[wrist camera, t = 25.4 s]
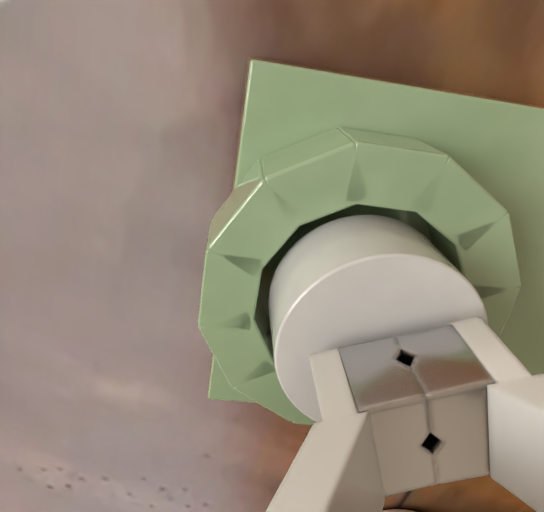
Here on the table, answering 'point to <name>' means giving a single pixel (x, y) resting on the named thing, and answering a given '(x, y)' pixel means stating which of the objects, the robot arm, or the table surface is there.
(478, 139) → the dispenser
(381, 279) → the button
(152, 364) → the table surface
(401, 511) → the supplement bottle
